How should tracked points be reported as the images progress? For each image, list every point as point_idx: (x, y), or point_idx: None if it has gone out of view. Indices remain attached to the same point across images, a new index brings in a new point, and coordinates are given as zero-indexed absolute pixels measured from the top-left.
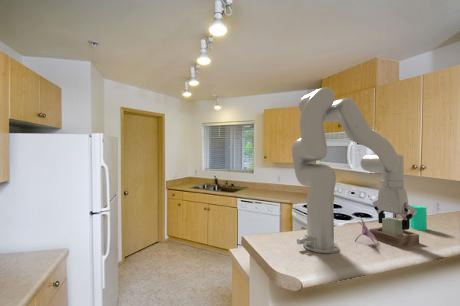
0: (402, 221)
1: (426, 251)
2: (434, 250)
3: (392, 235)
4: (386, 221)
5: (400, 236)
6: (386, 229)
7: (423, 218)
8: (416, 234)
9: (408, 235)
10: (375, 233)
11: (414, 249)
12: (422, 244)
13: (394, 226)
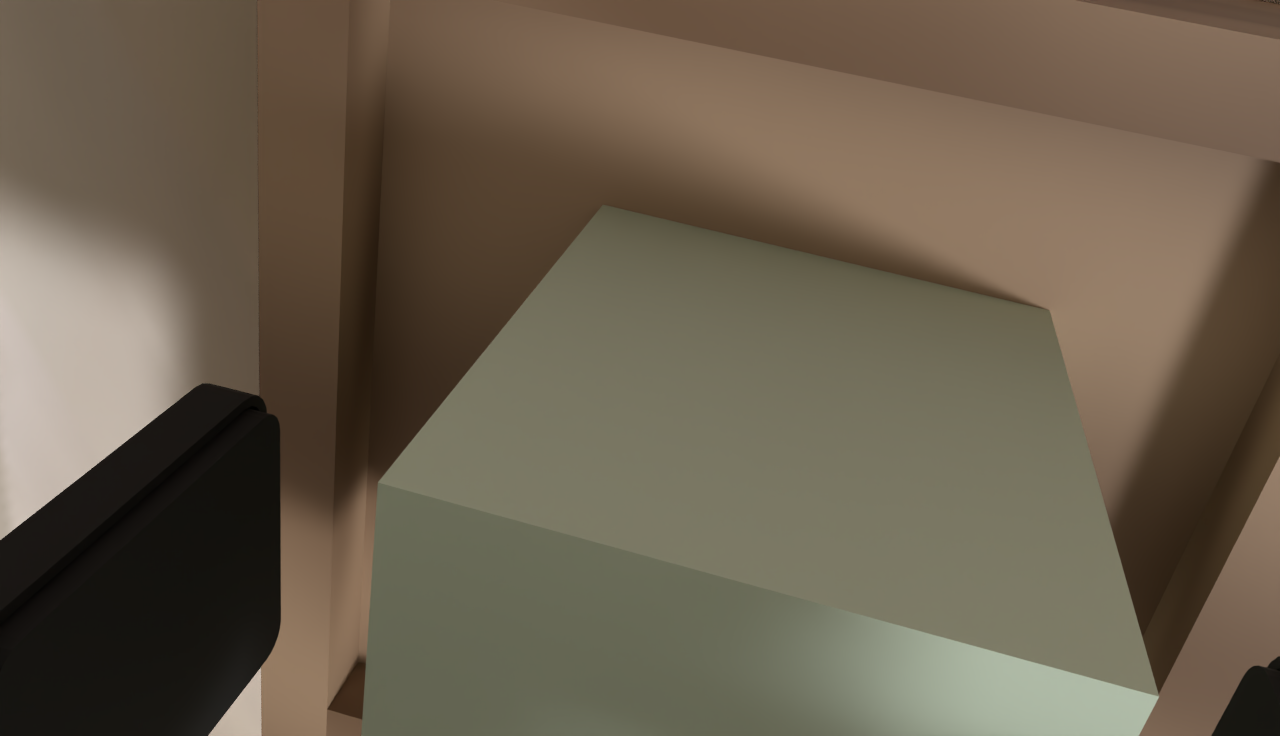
0: (6, 586)
1: (7, 173)
2: (6, 373)
3: (656, 225)
4: (849, 535)
5: (340, 142)
6: (876, 348)
7: None
8: (279, 692)
9: (306, 454)
10: (1222, 18)
11: (163, 76)
12: None
13: (479, 381)
